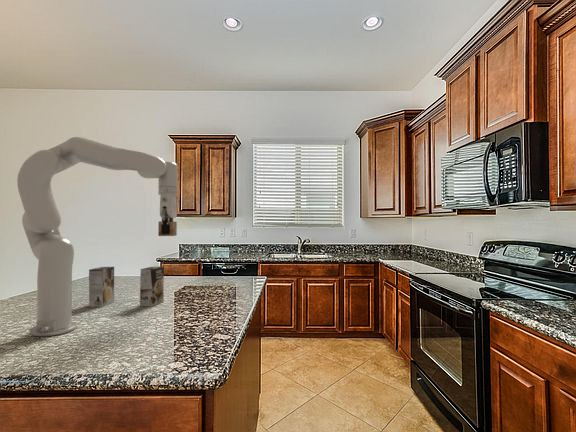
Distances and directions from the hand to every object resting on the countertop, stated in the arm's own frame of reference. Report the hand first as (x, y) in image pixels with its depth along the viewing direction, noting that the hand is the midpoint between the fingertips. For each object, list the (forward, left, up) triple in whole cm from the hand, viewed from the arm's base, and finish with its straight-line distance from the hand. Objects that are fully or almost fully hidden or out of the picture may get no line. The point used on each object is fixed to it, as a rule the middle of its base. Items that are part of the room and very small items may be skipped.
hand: (167, 233), depth 141 cm
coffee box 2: (+9, +8, -32) cm, 34 cm away
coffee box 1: (+11, +30, -32) cm, 45 cm away
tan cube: (0, 0, -1) cm, 1 cm away
